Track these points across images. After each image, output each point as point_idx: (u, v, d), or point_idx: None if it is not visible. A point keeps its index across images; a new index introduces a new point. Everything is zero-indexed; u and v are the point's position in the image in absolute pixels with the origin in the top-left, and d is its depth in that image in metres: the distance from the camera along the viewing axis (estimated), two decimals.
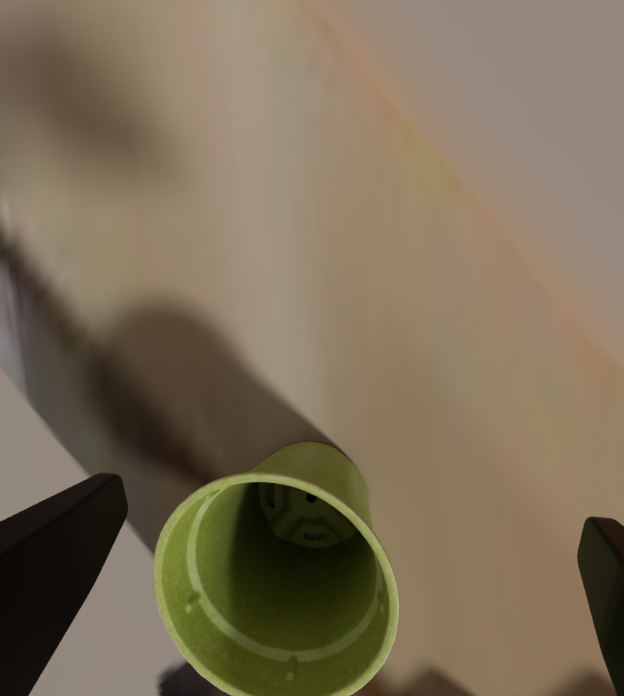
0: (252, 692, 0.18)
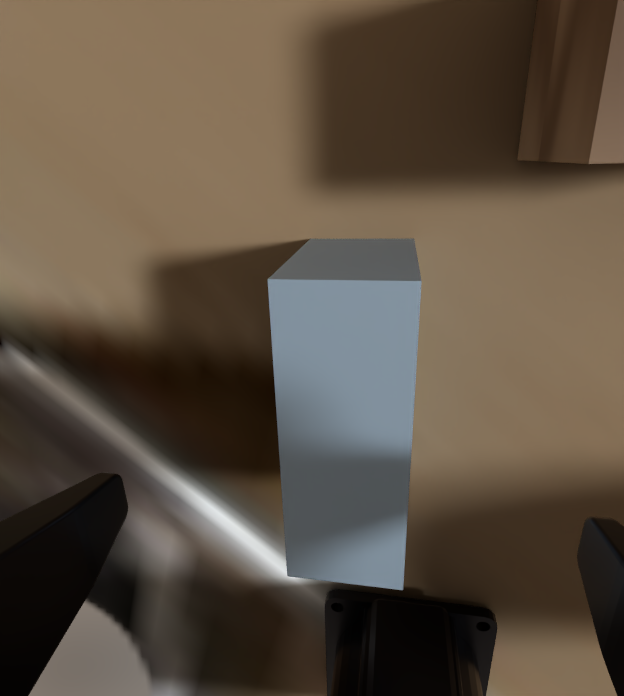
0: None
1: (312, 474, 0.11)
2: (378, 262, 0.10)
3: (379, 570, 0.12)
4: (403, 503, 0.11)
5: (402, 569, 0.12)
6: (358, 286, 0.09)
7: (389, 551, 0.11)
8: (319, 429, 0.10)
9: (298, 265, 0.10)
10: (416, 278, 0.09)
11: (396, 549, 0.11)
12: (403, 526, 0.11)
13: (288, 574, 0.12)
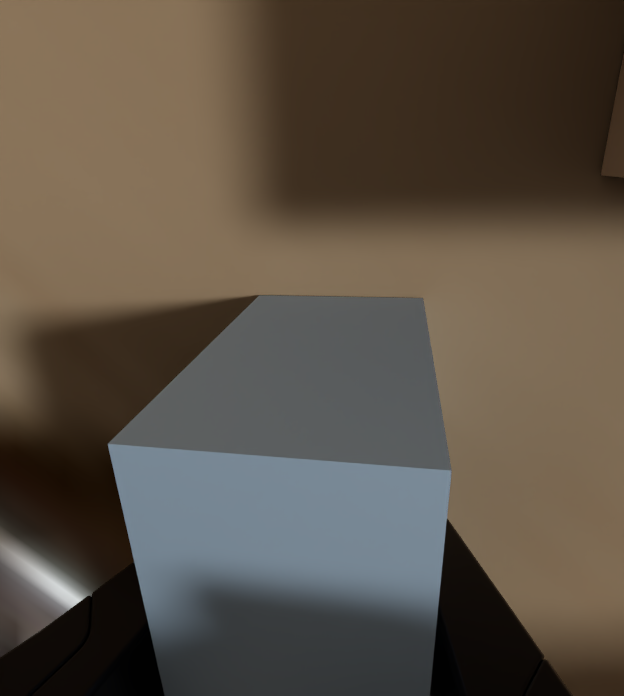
0: None
1: None
2: (358, 376, 0.05)
3: None
4: None
5: None
6: (306, 470, 0.04)
7: None
8: None
9: (201, 383, 0.05)
10: (440, 455, 0.04)
11: None
12: None
13: None
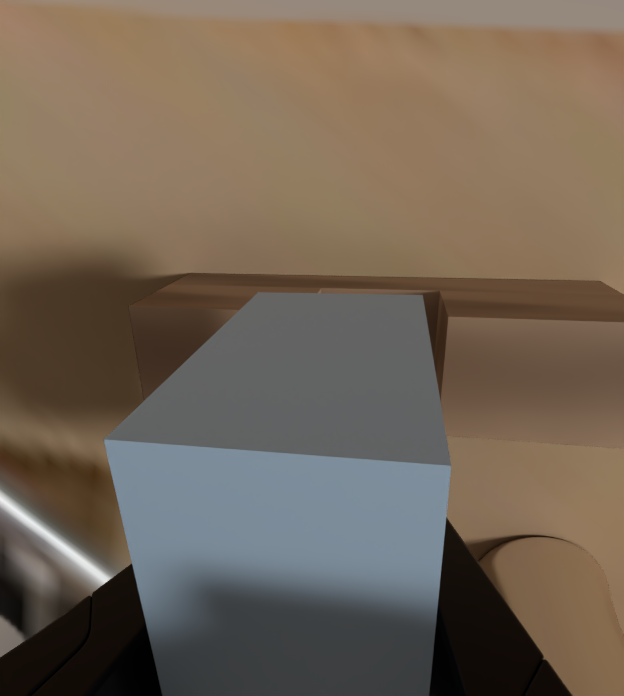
0: None
1: None
2: (357, 372, 0.05)
3: None
4: None
5: None
6: (303, 467, 0.04)
7: None
8: None
9: (199, 379, 0.05)
10: (439, 451, 0.04)
11: None
12: None
13: None
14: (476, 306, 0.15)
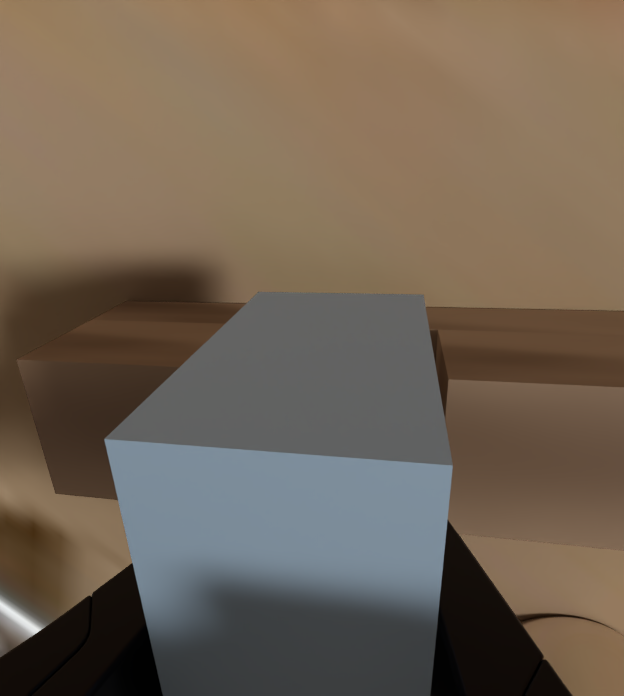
0: None
1: None
2: (358, 372, 0.05)
3: None
4: None
5: None
6: (304, 466, 0.04)
7: None
8: None
9: (200, 378, 0.05)
10: (440, 450, 0.04)
11: None
12: None
13: None
14: (488, 358, 0.10)
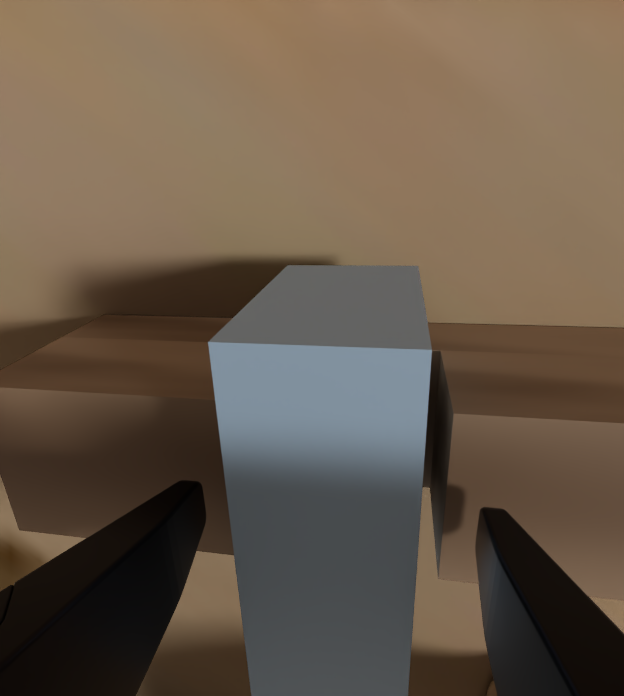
0: None
1: (280, 595, 0.08)
2: (370, 309, 0.08)
3: None
4: (405, 636, 0.08)
5: None
6: (340, 354, 0.06)
7: (386, 693, 0.09)
8: (289, 541, 0.08)
9: (259, 314, 0.08)
10: (424, 344, 0.06)
11: (396, 690, 0.08)
12: (405, 664, 0.08)
13: None
14: (497, 387, 0.09)
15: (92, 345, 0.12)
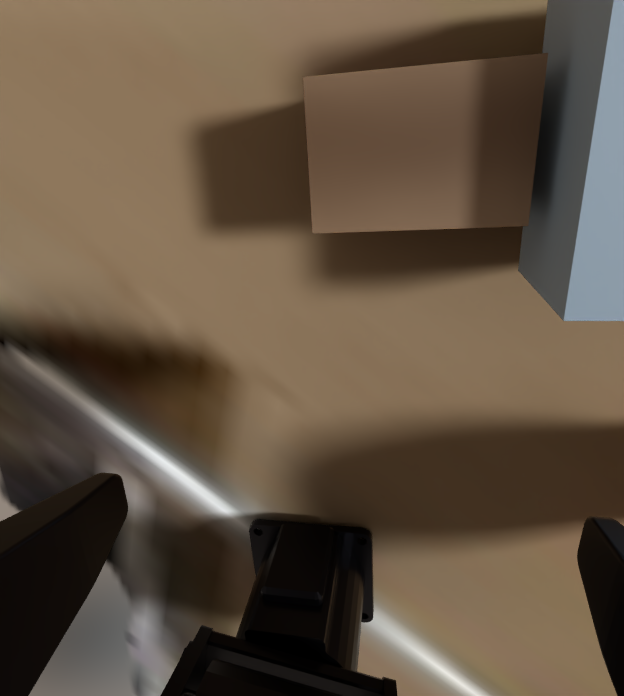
0: None
1: None
2: None
3: None
4: None
5: None
6: None
7: None
8: None
9: None
10: None
11: None
12: None
13: (565, 318, 0.11)
14: None
15: None
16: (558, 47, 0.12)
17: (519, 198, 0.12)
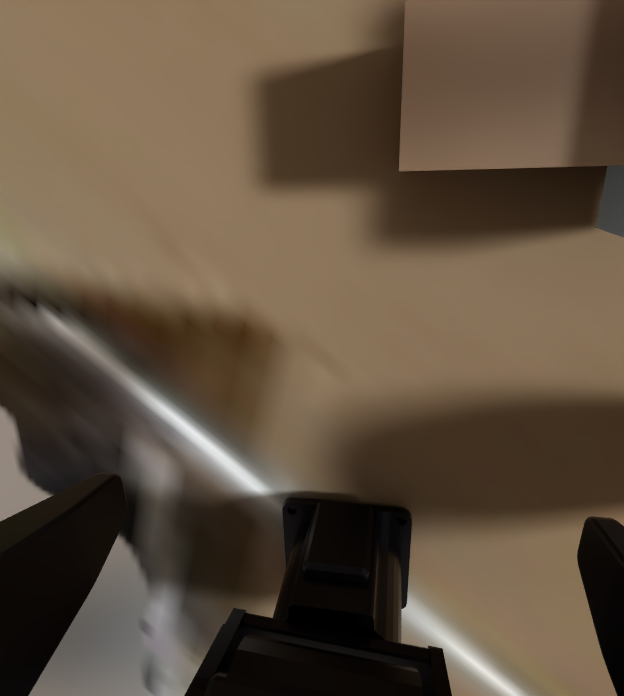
0: None
1: None
2: None
3: None
4: None
5: None
6: None
7: None
8: None
9: None
10: None
11: None
12: None
13: None
14: None
15: None
16: None
17: None
